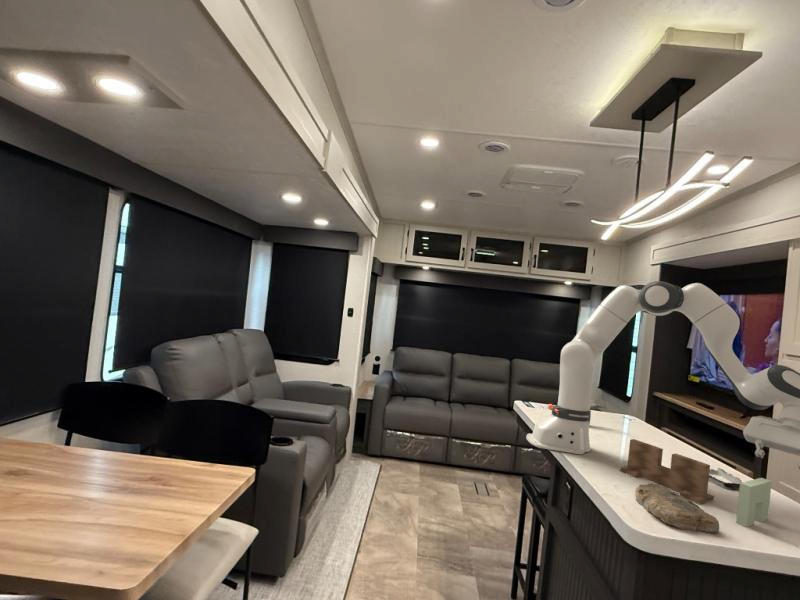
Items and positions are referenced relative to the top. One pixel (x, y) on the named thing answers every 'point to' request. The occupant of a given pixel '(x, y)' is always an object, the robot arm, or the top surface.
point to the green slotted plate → (753, 501)
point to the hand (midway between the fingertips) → (779, 462)
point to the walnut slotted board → (669, 471)
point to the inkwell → (596, 406)
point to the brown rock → (675, 509)
